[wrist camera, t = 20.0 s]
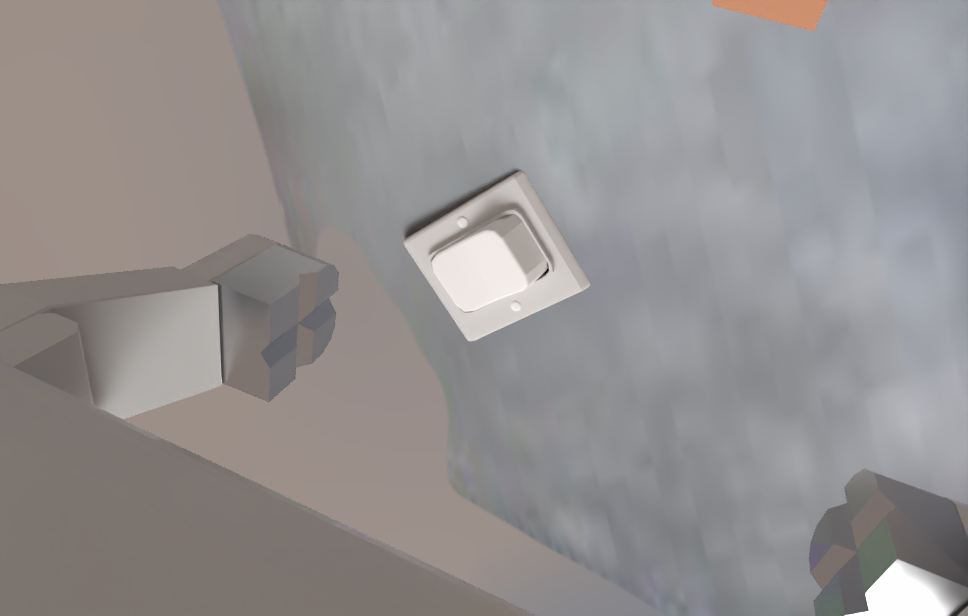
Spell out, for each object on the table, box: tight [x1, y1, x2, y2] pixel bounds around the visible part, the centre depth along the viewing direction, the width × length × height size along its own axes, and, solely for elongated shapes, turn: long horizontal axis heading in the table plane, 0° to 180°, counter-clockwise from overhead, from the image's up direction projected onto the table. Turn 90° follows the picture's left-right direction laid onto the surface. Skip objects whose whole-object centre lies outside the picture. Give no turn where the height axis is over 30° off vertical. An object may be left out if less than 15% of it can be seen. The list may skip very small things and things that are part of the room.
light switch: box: [403, 171, 590, 341], centre depth 51 cm, size 11×4×13 cm
